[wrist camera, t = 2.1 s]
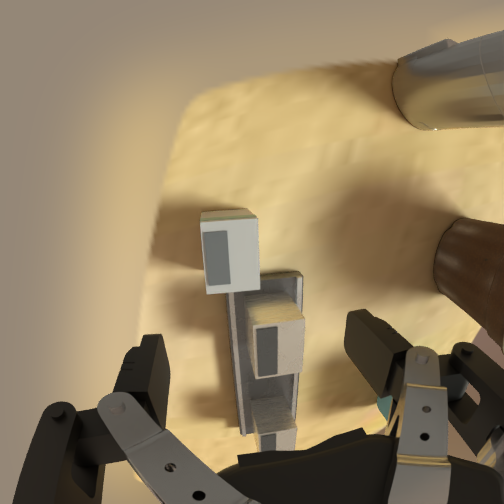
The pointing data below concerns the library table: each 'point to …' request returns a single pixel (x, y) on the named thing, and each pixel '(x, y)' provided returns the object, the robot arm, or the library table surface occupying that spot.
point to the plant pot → (474, 272)
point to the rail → (268, 358)
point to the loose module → (230, 250)
